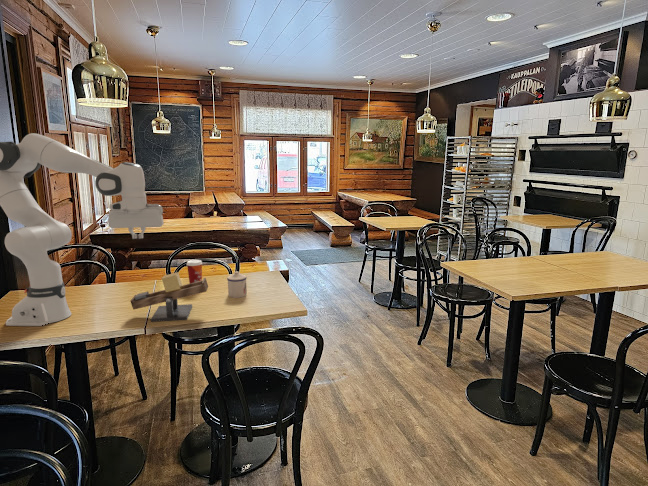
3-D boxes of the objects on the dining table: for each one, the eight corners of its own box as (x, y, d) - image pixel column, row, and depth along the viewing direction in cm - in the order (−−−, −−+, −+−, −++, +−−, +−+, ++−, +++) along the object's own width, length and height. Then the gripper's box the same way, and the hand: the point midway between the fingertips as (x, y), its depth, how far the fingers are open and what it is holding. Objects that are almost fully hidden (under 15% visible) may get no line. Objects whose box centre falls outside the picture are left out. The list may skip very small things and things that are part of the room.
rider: (167, 296, 174) (161, 278, 172) (169, 293, 178) (163, 275, 176) (181, 292, 174) (176, 275, 172) (183, 289, 179) (178, 272, 177)
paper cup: (199, 290, 208) (197, 263, 205) (185, 289, 209) (183, 262, 206) (206, 286, 215) (205, 259, 212) (193, 285, 217) (191, 259, 214)
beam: (134, 311, 172) (130, 300, 170) (138, 306, 178) (135, 295, 177) (207, 293, 175) (203, 282, 174) (208, 288, 182) (205, 277, 180)
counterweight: (136, 304, 172) (134, 297, 172) (139, 300, 177) (137, 293, 176) (147, 301, 173) (145, 294, 172) (150, 297, 177) (148, 291, 176)
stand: (151, 321, 169) (149, 300, 168) (159, 308, 184) (157, 289, 182) (187, 319, 172) (185, 298, 170) (192, 306, 186) (191, 287, 184)
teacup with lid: (248, 297, 199) (247, 273, 196) (228, 299, 196) (227, 275, 194) (245, 289, 210) (244, 267, 208) (226, 291, 207) (225, 268, 205)
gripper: (163, 202, 171) (166, 236, 174) (110, 203, 168) (114, 237, 171) (160, 204, 165) (163, 239, 168) (105, 205, 162) (108, 240, 165)
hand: (138, 238), depth 169 cm, fingers closed
